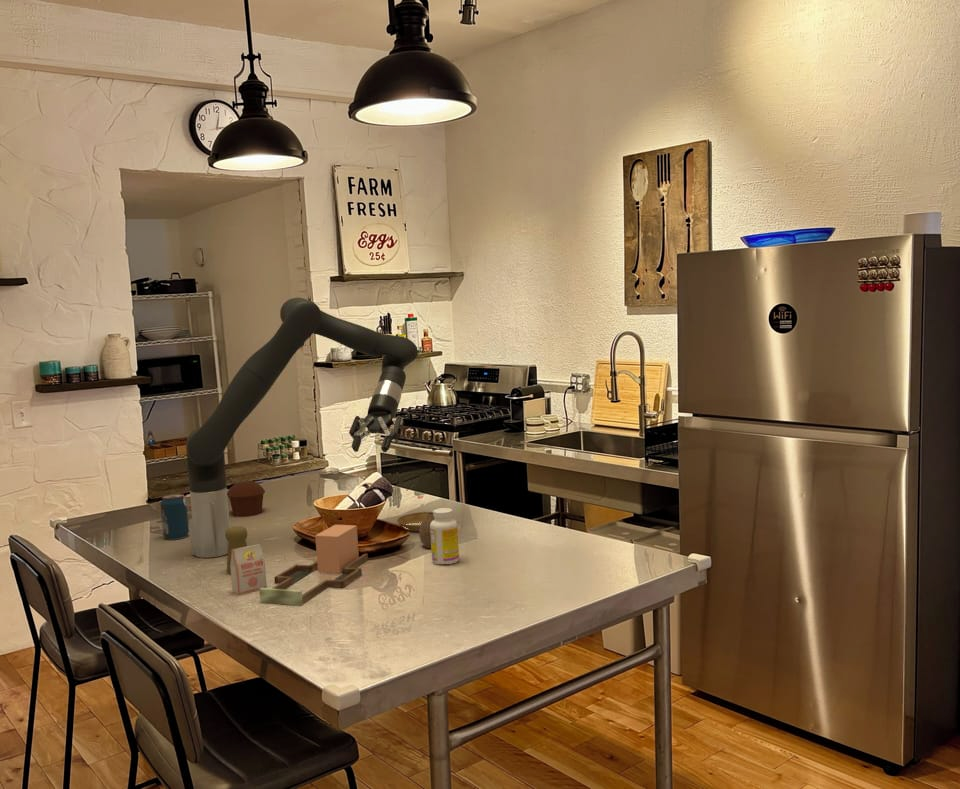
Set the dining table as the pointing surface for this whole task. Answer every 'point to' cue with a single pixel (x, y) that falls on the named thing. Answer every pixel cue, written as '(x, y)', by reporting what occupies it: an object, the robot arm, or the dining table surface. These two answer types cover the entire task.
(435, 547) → the supplement bottle
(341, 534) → the terracotta block
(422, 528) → the vase
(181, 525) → the soda can
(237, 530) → the olive ball-topped cylinder
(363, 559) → the trap lane
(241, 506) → the muffin
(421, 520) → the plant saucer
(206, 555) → the robot arm
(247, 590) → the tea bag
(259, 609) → the dining table surface
